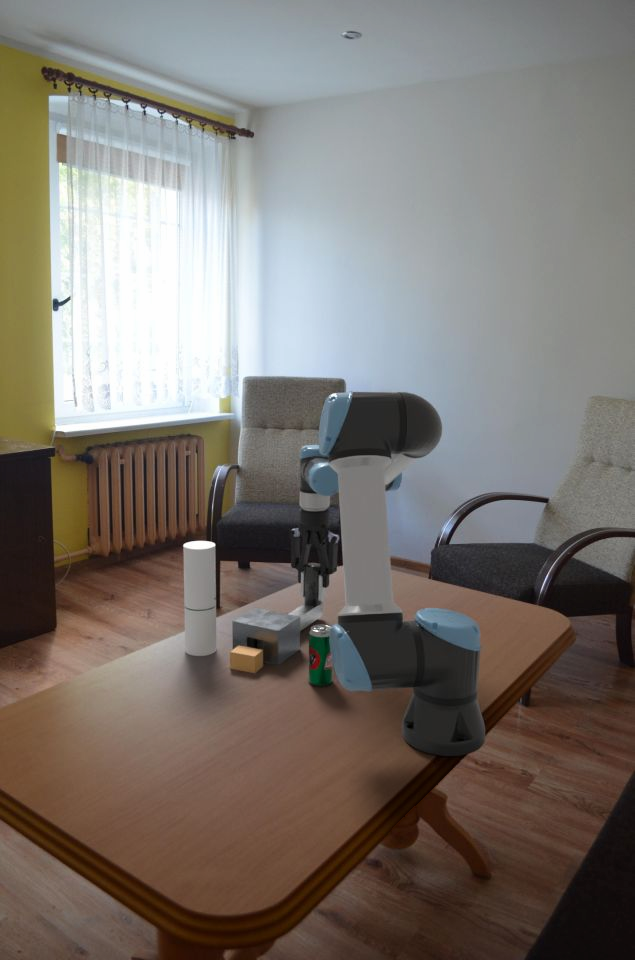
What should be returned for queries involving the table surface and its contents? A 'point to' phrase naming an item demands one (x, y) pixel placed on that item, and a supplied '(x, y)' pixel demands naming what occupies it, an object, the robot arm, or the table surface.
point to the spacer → (246, 659)
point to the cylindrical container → (200, 597)
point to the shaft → (307, 599)
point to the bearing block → (268, 633)
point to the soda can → (320, 656)
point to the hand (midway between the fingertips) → (313, 597)
